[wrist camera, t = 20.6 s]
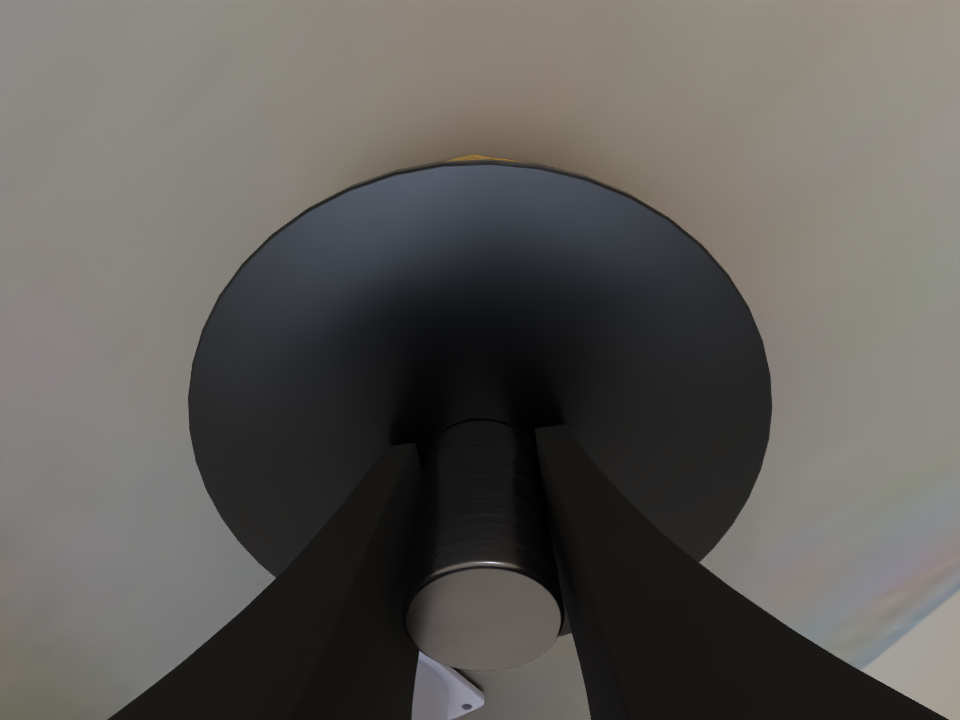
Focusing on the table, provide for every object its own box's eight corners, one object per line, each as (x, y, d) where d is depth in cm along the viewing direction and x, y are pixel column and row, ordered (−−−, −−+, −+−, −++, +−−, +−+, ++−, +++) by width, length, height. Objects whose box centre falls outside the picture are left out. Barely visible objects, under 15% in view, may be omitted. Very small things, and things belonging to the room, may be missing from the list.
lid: (437, 662, 15) (422, 872, 11) (96, 387, 11) (-147, 562, 7) (823, 479, 12) (1010, 674, 8) (565, -10, 8) (673, -158, 4)
